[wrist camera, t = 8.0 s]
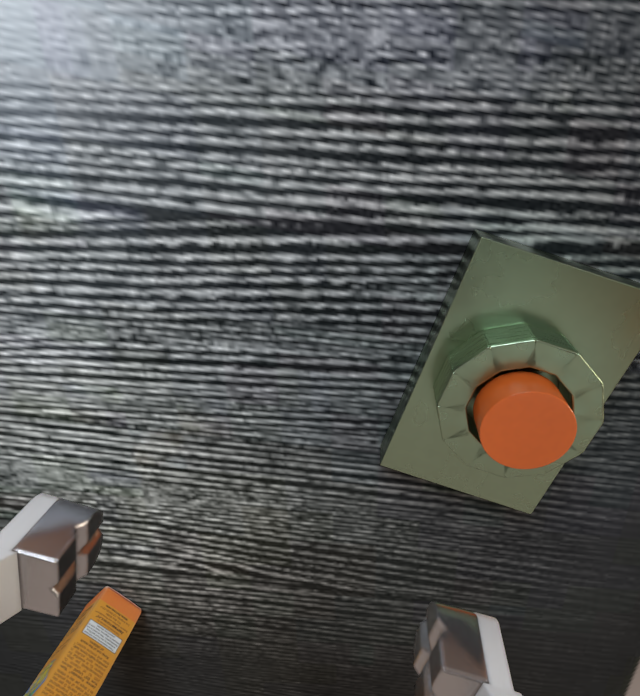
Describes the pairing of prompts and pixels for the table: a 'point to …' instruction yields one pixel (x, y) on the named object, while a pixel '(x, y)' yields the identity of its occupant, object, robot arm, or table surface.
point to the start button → (523, 420)
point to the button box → (511, 363)
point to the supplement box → (88, 647)
